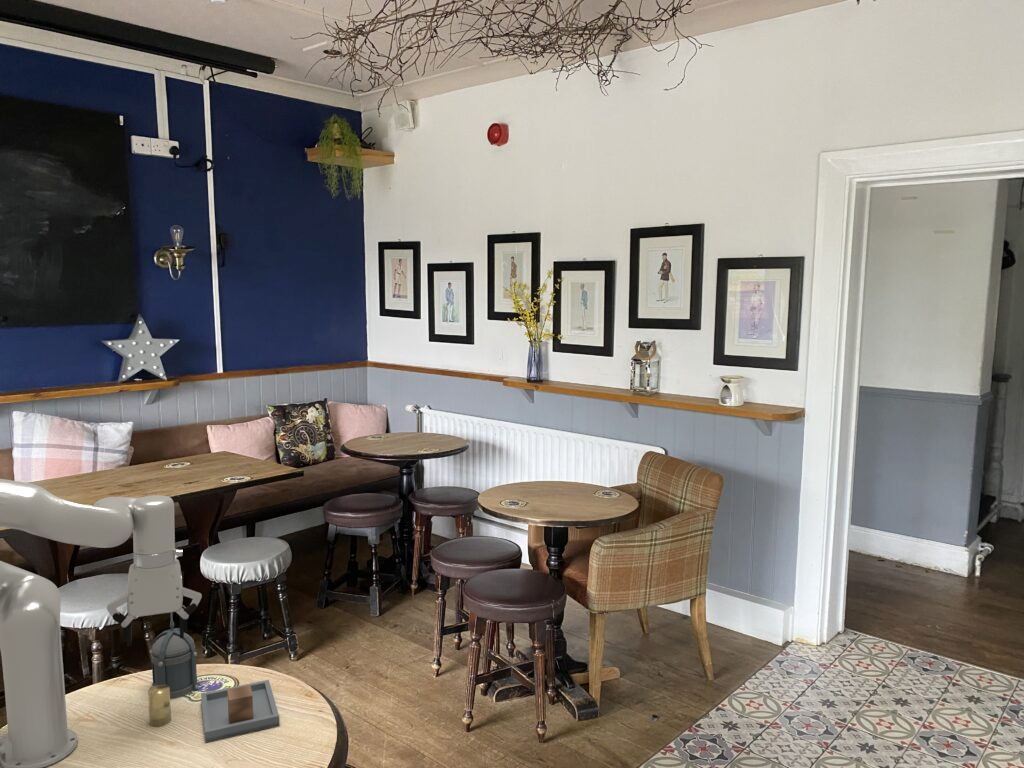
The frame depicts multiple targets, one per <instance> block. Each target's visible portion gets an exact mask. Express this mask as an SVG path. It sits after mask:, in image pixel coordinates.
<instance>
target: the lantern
mask: <svg viewBox="0 0 1024 768" xmlns="http://www.w3.org/2000/svg"><path fill="white" fill-rule="evenodd" d="M173 620H174V619H173V612H170V622H169V623H170V624H169V628H170V629H167V630H164V631H162V632H161V633H159V634H158V635H157V636H156V637H155V639H154V640H153V641H152V644H151V649H150V650H149V654H150V657H151V659H150V661H151V671H152V672H151V674H152V675H151V676H152V683H151V687H153V686H156V685H161V684H166V685H168V686H169V687H170V700H173V699H178V698H183V697H185V696H186V695H189V694H191V693H193V692H195V691H197V690H198V689H199V687H200V685H199V684H198V674H197V673H198V672H197V671H198V670H197V658H196V657H197V656H198V652H197V651H196V644H195V641H194V640H195V639H193V638H192V636H191V635H189V634H188V633H187V632H185V633H184V638H182V639H181V638H180V627H175V623H174V621H173Z"/></svg>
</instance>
